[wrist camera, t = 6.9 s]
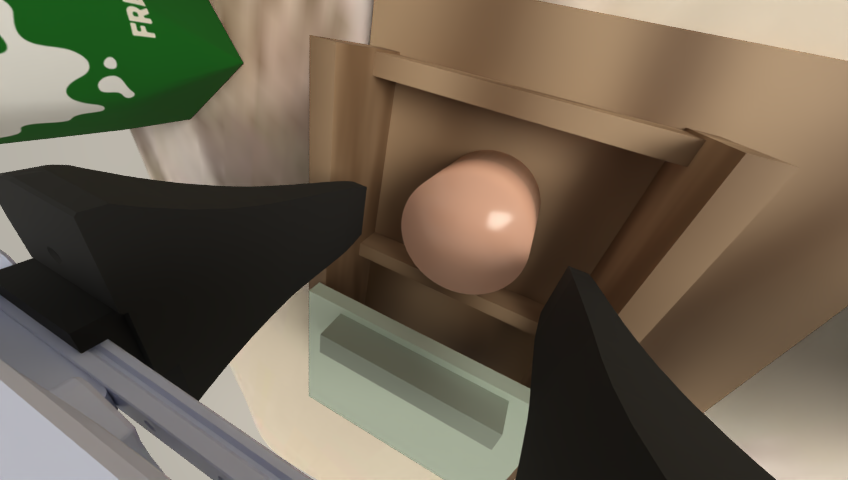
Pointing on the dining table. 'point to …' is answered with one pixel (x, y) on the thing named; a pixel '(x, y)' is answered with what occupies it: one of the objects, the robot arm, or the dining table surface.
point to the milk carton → (107, 64)
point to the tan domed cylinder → (473, 222)
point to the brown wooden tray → (598, 177)
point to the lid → (414, 391)
